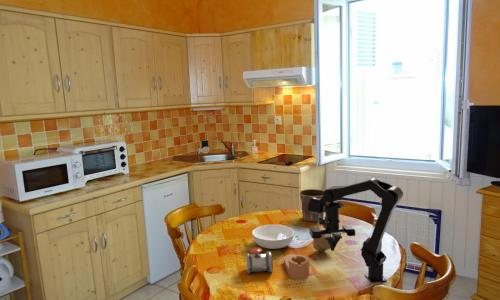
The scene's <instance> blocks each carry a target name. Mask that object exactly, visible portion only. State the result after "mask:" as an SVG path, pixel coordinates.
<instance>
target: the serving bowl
mask: <svg viewBox="0 0 500 300" xmlns="http://www.w3.org/2000/svg"><path fill="white" fill-rule="evenodd" d="M279 233H282V234H284V235H286V236H287V237H288V238H286V239H282V240H277V239H276V238H277V235H278V234H279ZM251 235H252V238H253V241H254V242H255V243H256V245H258V246H260V247H261V248H264V249H269V250H270V249H274V250H276V249H282V248H284V247H287V246H289V245H290V244H291V243H292V241H293V240H294V236H295V232H294V229H292V228H291V227H289V226H286V225H280V224H264V225H261V226H256V228H254V229H253V230H252V232H251Z"/></svg>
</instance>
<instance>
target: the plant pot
mask: <svg viewBox="0 0 500 300" xmlns="http://www.w3.org/2000/svg"><path fill="white" fill-rule="evenodd" d="M324 191H325V190H323V189H316V188H315V189H314V188H310V189H302V190H299V192H298V193H299V196H300V201H301V203H300V204H301V211H302V212H301V213H302V219H303V220H304V221H307V222H315V223H316V222H317V223H318V218H323V219H324V218H325V216H324V214H325V212H324V213H323V214H316V213H311V212H309V211H308V205H309V202H310V198H312V197H315V198H319V199H321V198H322V197H323V193H324Z"/></svg>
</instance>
